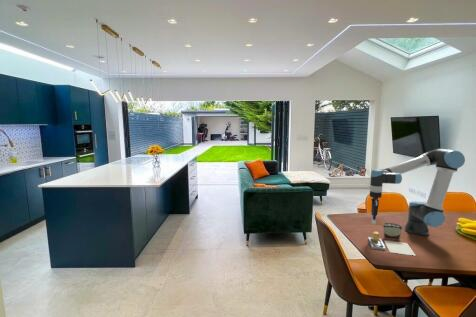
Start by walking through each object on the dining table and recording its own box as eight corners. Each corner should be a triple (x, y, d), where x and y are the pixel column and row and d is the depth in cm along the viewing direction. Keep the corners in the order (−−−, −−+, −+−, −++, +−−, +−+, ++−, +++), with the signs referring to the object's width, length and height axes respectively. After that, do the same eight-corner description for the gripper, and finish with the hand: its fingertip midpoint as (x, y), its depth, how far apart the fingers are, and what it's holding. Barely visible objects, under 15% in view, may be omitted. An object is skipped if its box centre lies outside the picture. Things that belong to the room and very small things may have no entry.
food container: (399, 236, 184) (400, 223, 183) (401, 240, 178) (402, 226, 177) (380, 234, 188) (381, 221, 187) (382, 238, 182) (382, 224, 181)
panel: (380, 240, 178) (380, 237, 177) (385, 250, 164) (385, 247, 163) (368, 239, 180) (368, 236, 180) (371, 248, 166) (371, 245, 166)
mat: (407, 243, 173) (407, 243, 173) (415, 256, 156) (415, 255, 156) (383, 240, 177) (383, 240, 177) (390, 252, 161) (390, 252, 161)
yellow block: (377, 238, 177) (377, 231, 176) (378, 240, 173) (379, 233, 172) (372, 237, 178) (372, 231, 177) (373, 240, 174) (373, 233, 174)
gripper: (368, 188, 187) (366, 219, 189) (371, 193, 174) (369, 225, 177) (379, 189, 184) (377, 221, 187) (383, 194, 172) (381, 227, 175)
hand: (373, 223), depth 182 cm, fingers closed
